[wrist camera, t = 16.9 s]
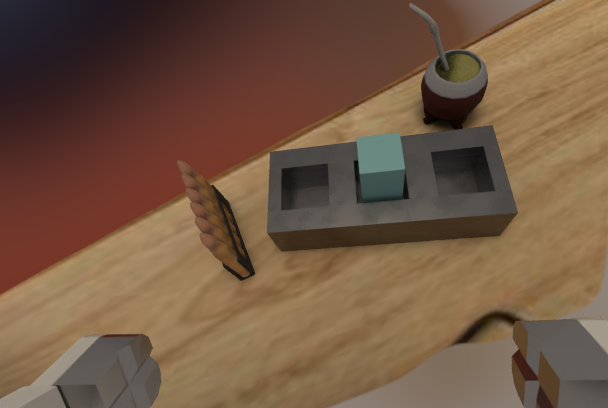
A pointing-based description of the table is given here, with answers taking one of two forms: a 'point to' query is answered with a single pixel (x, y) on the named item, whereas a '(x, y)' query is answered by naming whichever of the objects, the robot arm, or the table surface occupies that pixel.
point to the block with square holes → (398, 213)
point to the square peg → (381, 167)
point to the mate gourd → (451, 81)
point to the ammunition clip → (216, 223)
